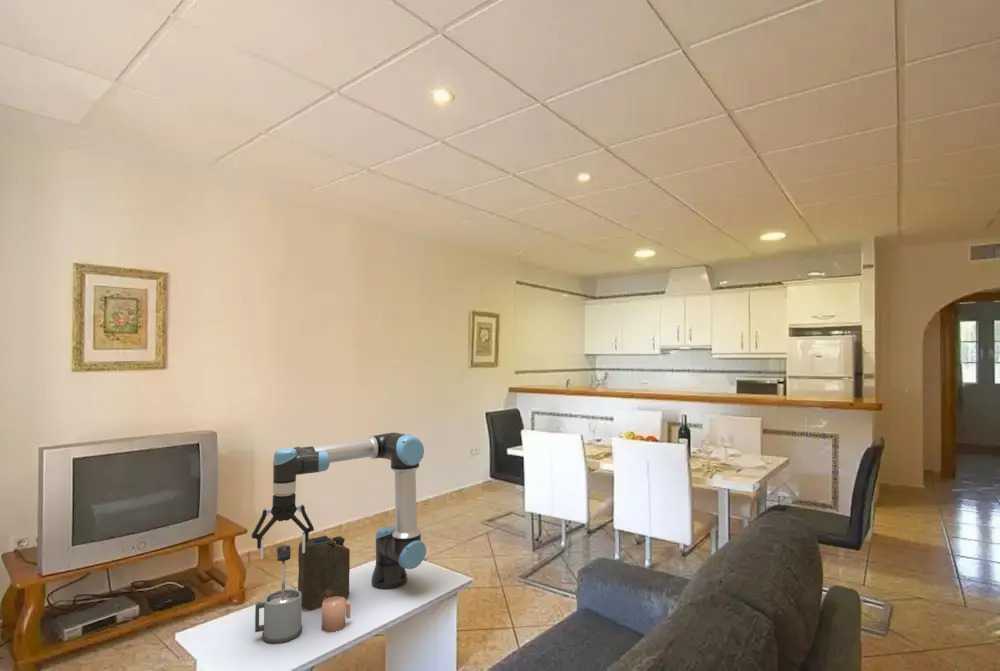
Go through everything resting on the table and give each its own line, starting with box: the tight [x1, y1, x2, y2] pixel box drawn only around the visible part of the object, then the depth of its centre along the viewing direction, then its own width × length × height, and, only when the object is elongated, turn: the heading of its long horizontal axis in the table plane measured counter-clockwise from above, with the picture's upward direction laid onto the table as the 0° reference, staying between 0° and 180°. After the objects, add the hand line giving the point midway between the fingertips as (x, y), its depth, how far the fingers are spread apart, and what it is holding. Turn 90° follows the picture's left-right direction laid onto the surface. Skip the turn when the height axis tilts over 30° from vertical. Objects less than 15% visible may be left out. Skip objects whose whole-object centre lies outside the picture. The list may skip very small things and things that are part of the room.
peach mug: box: [321, 596, 351, 633], centre depth 192 cm, size 10×8×9 cm
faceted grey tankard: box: [254, 588, 303, 645], centre depth 186 cm, size 15×13×13 cm
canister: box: [297, 535, 351, 611], centre depth 212 cm, size 19×8×25 cm, turn 129°
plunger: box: [269, 544, 297, 604], centre depth 187 cm, size 9×9×18 cm
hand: (282, 554), depth 187 cm, fingers open, 13 cm apart
